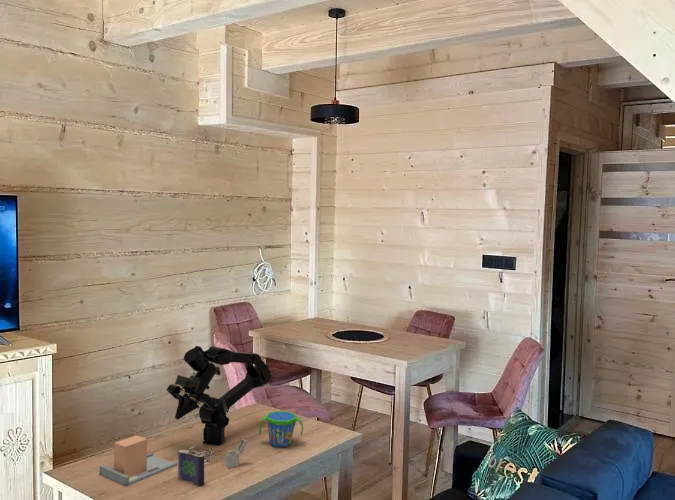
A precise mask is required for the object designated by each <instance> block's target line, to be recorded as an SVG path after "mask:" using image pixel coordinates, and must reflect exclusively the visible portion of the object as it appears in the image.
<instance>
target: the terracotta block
mask: <svg viewBox="0 0 675 500" xmlns="http://www.w3.org/2000/svg"><path fill="white" fill-rule="evenodd" d="M113 452H114V453H113V455H114V456H113V463H114V464H113V467H114V470H115V471H118V472H120V473H122V474H124V475H127V476H129V478H130V477H132V476H135V475H137V474H140V473H142V472H145V471H147V454H148V438H145V437H143V436H139V435H137V434H136V435H133V436H131V437H128V438H124V439H121V440H118V441H115V442H114V451H113Z"/></svg>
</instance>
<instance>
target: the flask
mask: <svg viewBox="0 0 675 500" xmlns="http://www.w3.org/2000/svg"><path fill="white" fill-rule="evenodd" d="M195 447H196V445H191V446H190V447H188V449H180V450H178V452H177V457H178V459H177V460H178V461H177V463H178V465H177V479H178V480H180V481H186V482H189V483H190V482H191V483H192V485H194V486H196V487H203V486H205V455H204V454H203V453H202V452H197V450H196V449H195Z"/></svg>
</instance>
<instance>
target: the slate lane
mask: <svg viewBox="0 0 675 500" xmlns="http://www.w3.org/2000/svg"><path fill="white" fill-rule="evenodd" d="M175 467H178V462H171V461H168V460H166V459H164V458H160V457H158V456H155V455H154V452H149V453H147V471H145V472H142V473H140V474H137V475H135V476H132V477H130V478H129V476H127V475H124V474H122V473H120V472H118V471H115V470H114V466H111V467H108V466H106V465H105V464H101V465H99V475H101V476H103V477H105V478H108V479H109V480H111V481H114V482H116V483H118V484H120V485H123V486H124V487H128V486H131V485H133V484H136V483H137V482H138V483H139V482H141V481H143V480H145V479H148V478H150V477H153V476H155V475H158V474H160V473H162V472H165V471H167V470H169V469H172V468H175Z"/></svg>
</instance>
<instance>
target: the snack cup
mask: <svg viewBox="0 0 675 500" xmlns="http://www.w3.org/2000/svg"><path fill="white" fill-rule="evenodd" d="M265 420H266V422H267V429H268V438H269V443H270V444H271V446H273V447H276V448H278V447H279V448H281V447H285V448H286V447H288V446H290V445H291V443H292V439H293V435H294V429H295V426H296V422H297V421H298V422H299V424H300V425H301V432H300V436H302V435H303V433H304V423H303V421H302V420H301V418H300V417H298V416H297V415H296V414H295V413H294V412H290V411H284V410H282V411H281V410H277V411H271V412H269V413H268V414H266V416H263V417H262V418H261V419H260V421H259V424H258V433H259V435H262V423H263V421H265Z"/></svg>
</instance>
